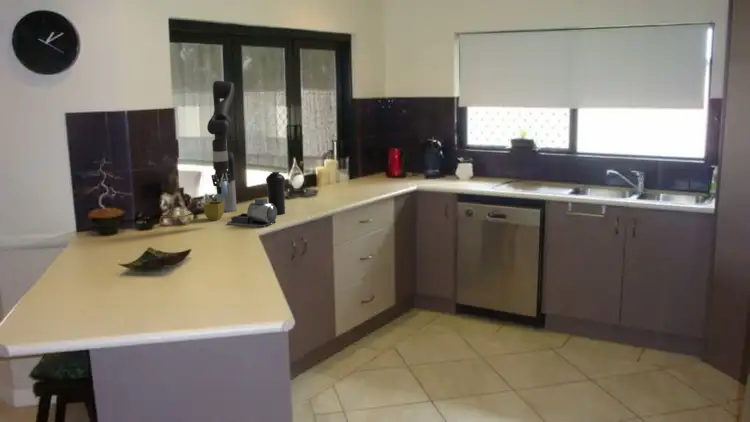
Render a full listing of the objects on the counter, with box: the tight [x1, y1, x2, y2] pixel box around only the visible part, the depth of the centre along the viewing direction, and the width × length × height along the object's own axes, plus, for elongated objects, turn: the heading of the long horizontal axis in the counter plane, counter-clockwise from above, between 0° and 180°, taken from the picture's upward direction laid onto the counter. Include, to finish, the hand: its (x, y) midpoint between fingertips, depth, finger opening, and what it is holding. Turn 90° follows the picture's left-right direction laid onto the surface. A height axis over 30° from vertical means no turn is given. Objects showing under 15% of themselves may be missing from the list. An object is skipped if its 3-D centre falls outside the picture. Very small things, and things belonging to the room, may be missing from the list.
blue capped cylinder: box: [217, 179, 228, 198], centre depth 356 cm, size 5×5×9 cm
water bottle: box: [265, 171, 286, 216], centre depth 385 cm, size 10×10×23 cm
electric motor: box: [226, 197, 278, 227], centre depth 362 cm, size 24×12×13 cm, turn 67°
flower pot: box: [202, 200, 225, 221], centre depth 375 cm, size 9×9×9 cm
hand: (222, 192), depth 357 cm, fingers closed on blue capped cylinder, 5 cm apart
